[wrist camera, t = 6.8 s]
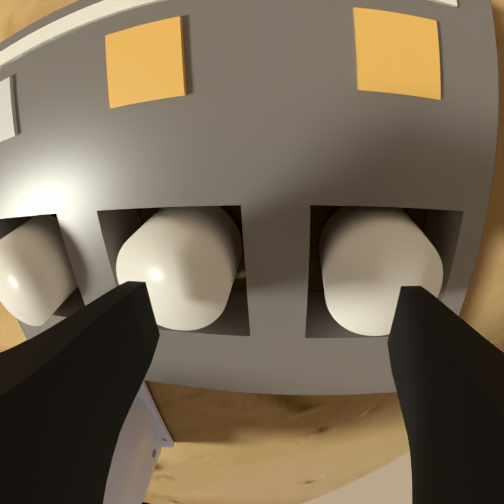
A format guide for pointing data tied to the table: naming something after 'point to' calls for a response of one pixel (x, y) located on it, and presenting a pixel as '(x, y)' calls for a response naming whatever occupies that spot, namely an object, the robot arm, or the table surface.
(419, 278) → the button
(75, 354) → the robot arm
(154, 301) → the button middle
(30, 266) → the button
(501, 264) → the table surface
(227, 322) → the switch console
